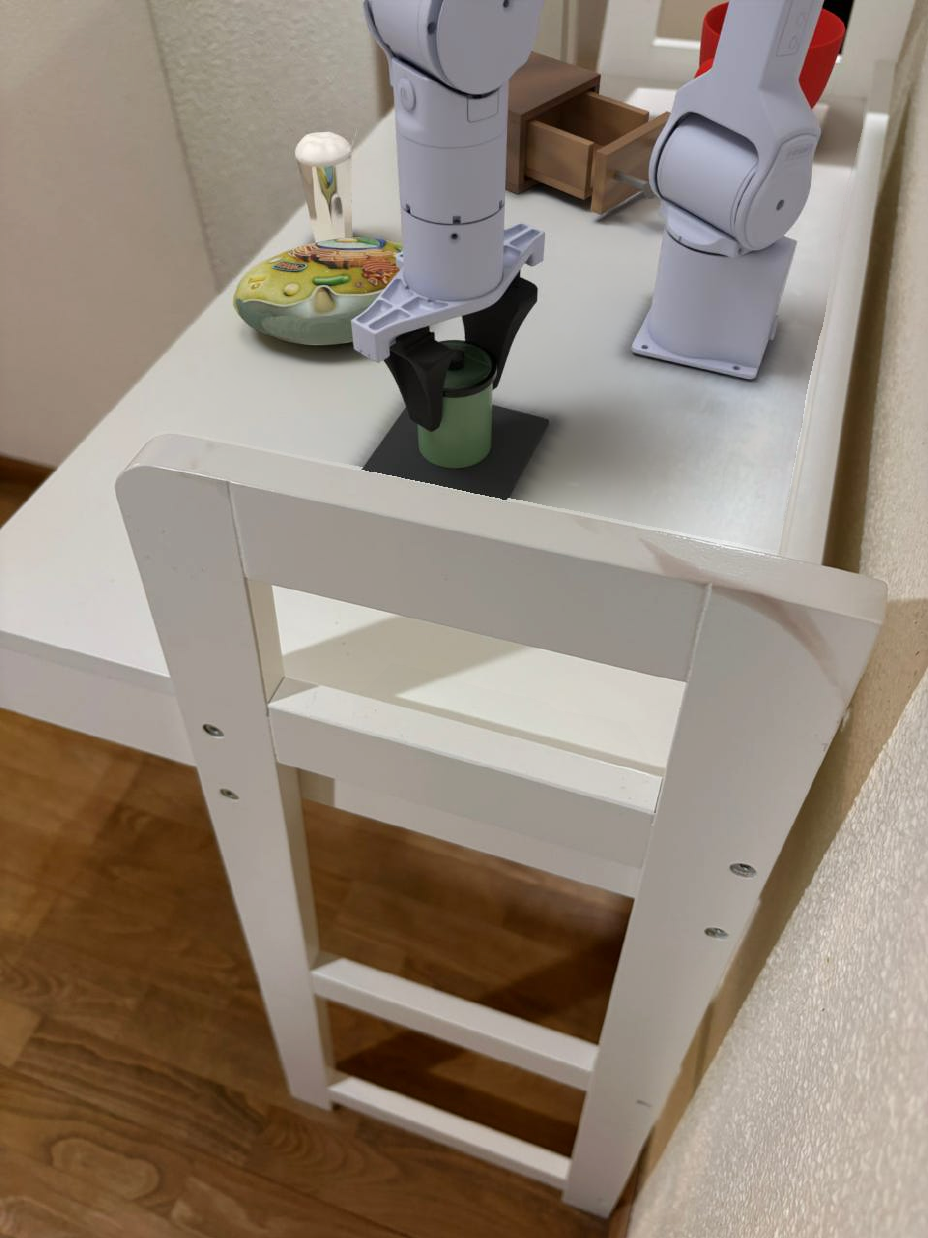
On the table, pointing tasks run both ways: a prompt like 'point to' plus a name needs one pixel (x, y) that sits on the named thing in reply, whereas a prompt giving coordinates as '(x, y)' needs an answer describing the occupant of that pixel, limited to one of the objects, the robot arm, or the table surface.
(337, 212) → the milkshake
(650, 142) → the drawer
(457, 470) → the mat
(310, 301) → the cell model
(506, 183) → the cabinet
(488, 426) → the pot
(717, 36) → the ceramic cup
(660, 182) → the robot arm
